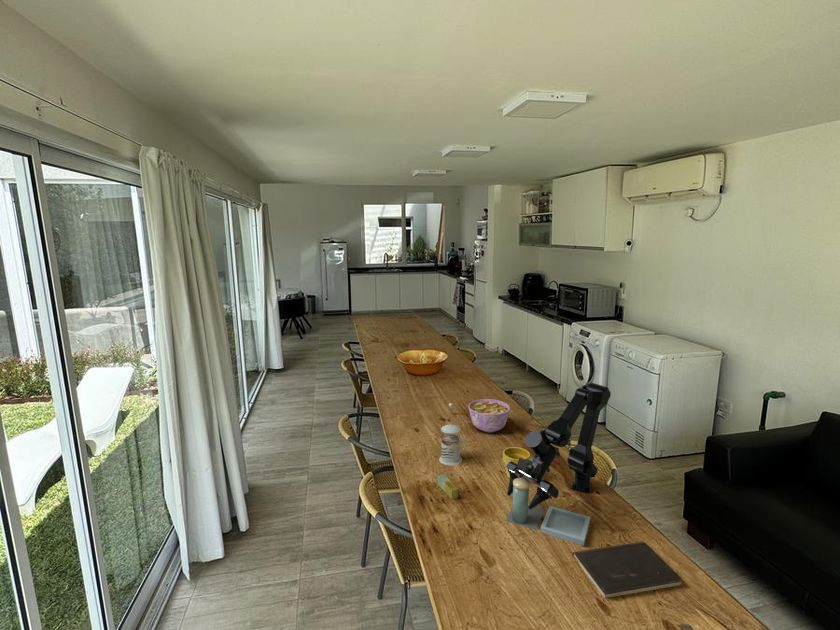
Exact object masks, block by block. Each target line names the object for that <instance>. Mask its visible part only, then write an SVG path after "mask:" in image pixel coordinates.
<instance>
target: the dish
mask: <svg viewBox="0 0 840 630" xmlns="http://www.w3.org/2000/svg"><path fill="white" fill-rule="evenodd" d="M590 523H591V516H588V515H585V514H581V513H579V512H578V513H577V512H574V511H570V510H567V509H563V508H559V507H556V506H552V505H549V506H548V509H547V511H546V514H545V516H544V519H543V521H542V523H541V526H540V531H539V532H540V533H541V534H544V535H547V536H551V537H553V538H557V539H561V540H564V541H568V542H570V543H573V544H576V545H580V546H581V547H583V548H584V547H585V544H586V539H587V535H588V533H589V527H590Z"/></svg>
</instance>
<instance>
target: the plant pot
mask: <svg viewBox="0 0 840 630" xmlns="http://www.w3.org/2000/svg"><path fill="white" fill-rule="evenodd" d="M530 457H531V453H530V452H529V451H528V450H527V449H525V448H523V447H517V446H511V447H506V448H505V449H503V451H502V461H503V463H504V466H505V472H506V477H507V478H508V479H510V474H509V472H508V470H509V469H507V468H506V466H507V464H508V463H509V462H511V461H512V462H514V463H516V464H518V461H519V458H523V459H527V460H529V459H530ZM521 478H523V479H525V478H524V477H521Z"/></svg>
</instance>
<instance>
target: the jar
mask: <svg viewBox="0 0 840 630" xmlns="http://www.w3.org/2000/svg"><path fill="white" fill-rule="evenodd" d="M529 495H530V481H529V480H528V479H526V478H516V479H514V480H513V492H512V508H513V510H512V509H511V510H512V519H513V521H514V522H516V523H518V524H525V523H527V521H528V505H529V498H530V497H529Z"/></svg>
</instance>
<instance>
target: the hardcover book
mask: <svg viewBox="0 0 840 630" xmlns="http://www.w3.org/2000/svg"><path fill="white" fill-rule="evenodd" d="M572 556H574V559H576V560H577V563H578V564H579V566H580V567H581V568H582V570H583V571H584V573H586V575H587V577H589V579H590V581H591V582H592V583H593V585H594V586H595V587H596V589H597V590H598V591H599V593H600V594H601V595H602V597H603V598H604V599H607V598H613V597H618V596H620V597H621V596H624V595H631V594H636V593H642V592H648V591H654V590H661V589H665V588H666V589H667V588H671V587H672V588H673V587H678V586H682V582H684V580H683V579H682V578H681V576H679V574H677V573H676V572H675V571H674V569H672V568H671V567H670V566H669V565H668V564H667V563H666V562H665V561H664V560H663V559H662V558H661V557H660V556H659V555H658V554H657V553H656V552H655V551H654V550H653V549H652V548H651V547H650V546H649V545H648V544H647V543H646V542H645V541H638V542H632V543H624V544H618V545H611V546H604V547H597V548H591V549H584V550H577V551H573V552H572Z"/></svg>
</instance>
